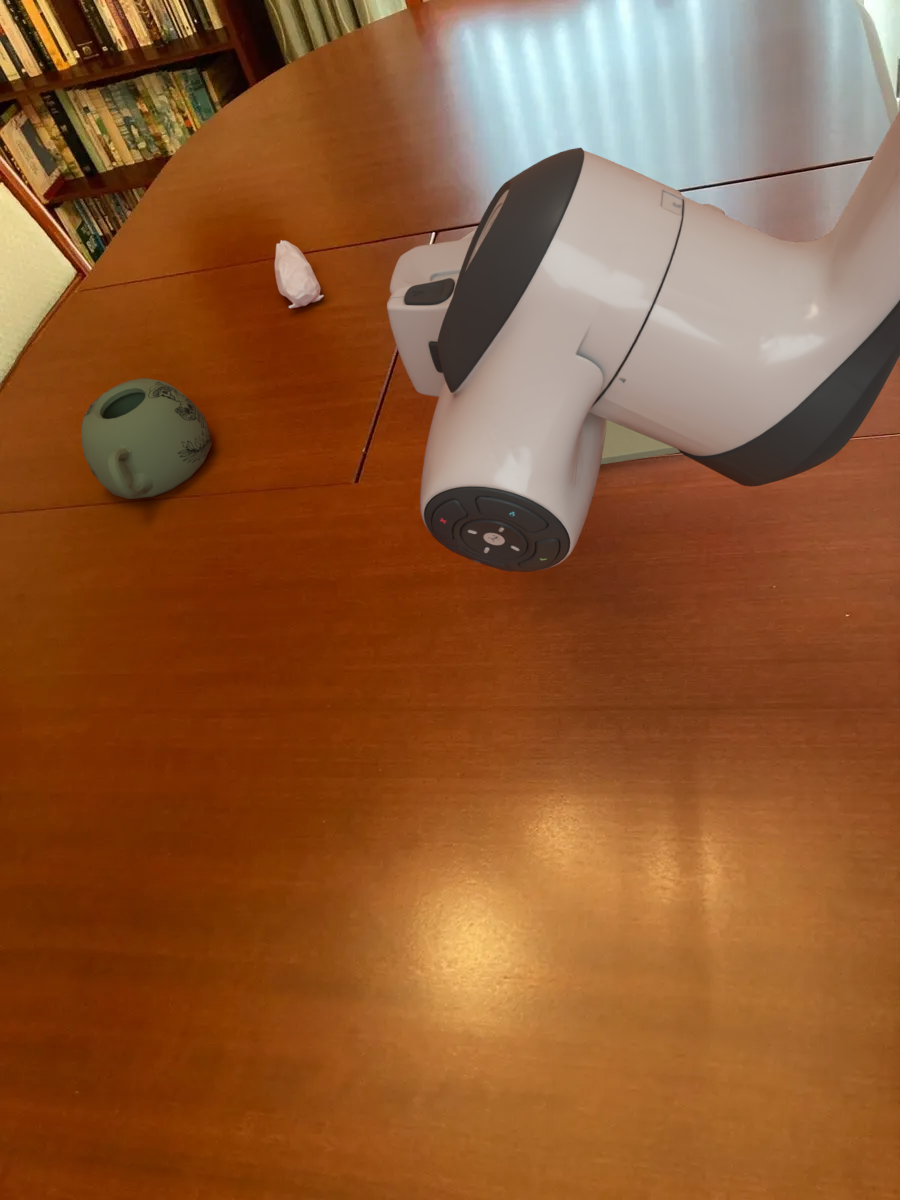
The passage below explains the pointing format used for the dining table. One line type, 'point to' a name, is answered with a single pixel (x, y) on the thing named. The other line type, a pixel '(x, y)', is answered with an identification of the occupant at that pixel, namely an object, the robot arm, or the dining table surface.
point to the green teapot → (144, 438)
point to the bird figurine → (295, 276)
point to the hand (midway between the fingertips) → (567, 212)
